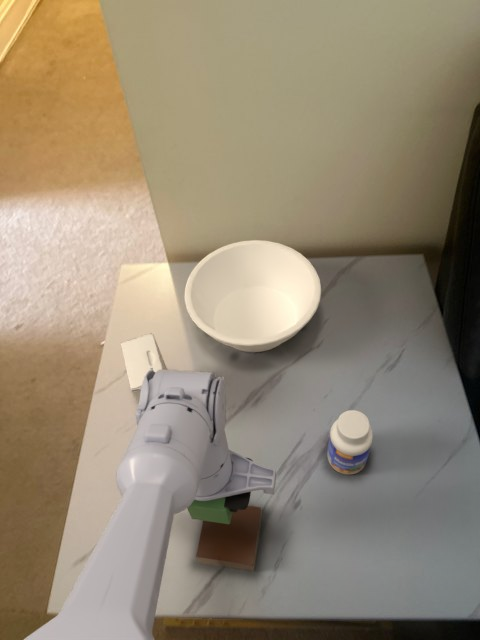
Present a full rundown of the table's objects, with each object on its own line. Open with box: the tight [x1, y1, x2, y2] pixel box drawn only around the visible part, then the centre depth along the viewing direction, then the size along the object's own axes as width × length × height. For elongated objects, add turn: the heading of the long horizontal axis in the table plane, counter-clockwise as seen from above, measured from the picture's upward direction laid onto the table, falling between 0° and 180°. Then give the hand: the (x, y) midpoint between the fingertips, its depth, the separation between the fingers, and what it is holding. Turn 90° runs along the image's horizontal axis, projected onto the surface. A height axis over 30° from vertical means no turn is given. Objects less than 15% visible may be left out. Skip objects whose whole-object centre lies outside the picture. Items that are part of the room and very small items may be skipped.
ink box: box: [120, 332, 168, 406], centre depth 80 cm, size 9×5×12 cm, turn 17°
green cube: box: [186, 497, 232, 524], centre depth 63 cm, size 4×4×4 cm
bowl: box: [184, 239, 322, 353], centre depth 90 cm, size 21×21×8 cm
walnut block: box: [195, 505, 263, 572], centre depth 71 cm, size 7×7×3 cm
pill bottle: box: [326, 409, 374, 475], centre depth 74 cm, size 5×5×10 cm
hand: (214, 500), depth 65 cm, fingers closed on green cube, 4 cm apart
